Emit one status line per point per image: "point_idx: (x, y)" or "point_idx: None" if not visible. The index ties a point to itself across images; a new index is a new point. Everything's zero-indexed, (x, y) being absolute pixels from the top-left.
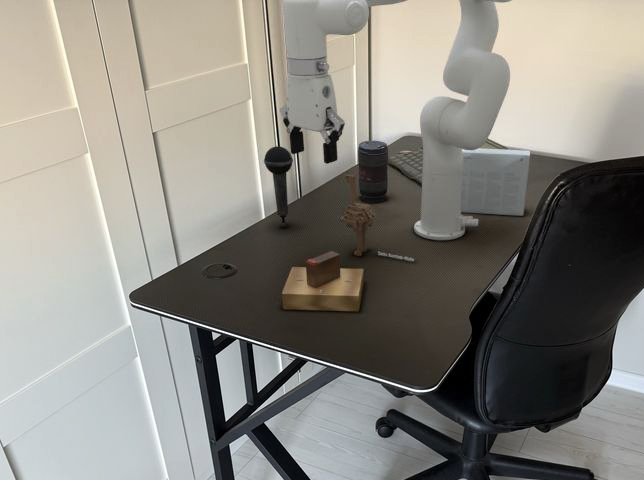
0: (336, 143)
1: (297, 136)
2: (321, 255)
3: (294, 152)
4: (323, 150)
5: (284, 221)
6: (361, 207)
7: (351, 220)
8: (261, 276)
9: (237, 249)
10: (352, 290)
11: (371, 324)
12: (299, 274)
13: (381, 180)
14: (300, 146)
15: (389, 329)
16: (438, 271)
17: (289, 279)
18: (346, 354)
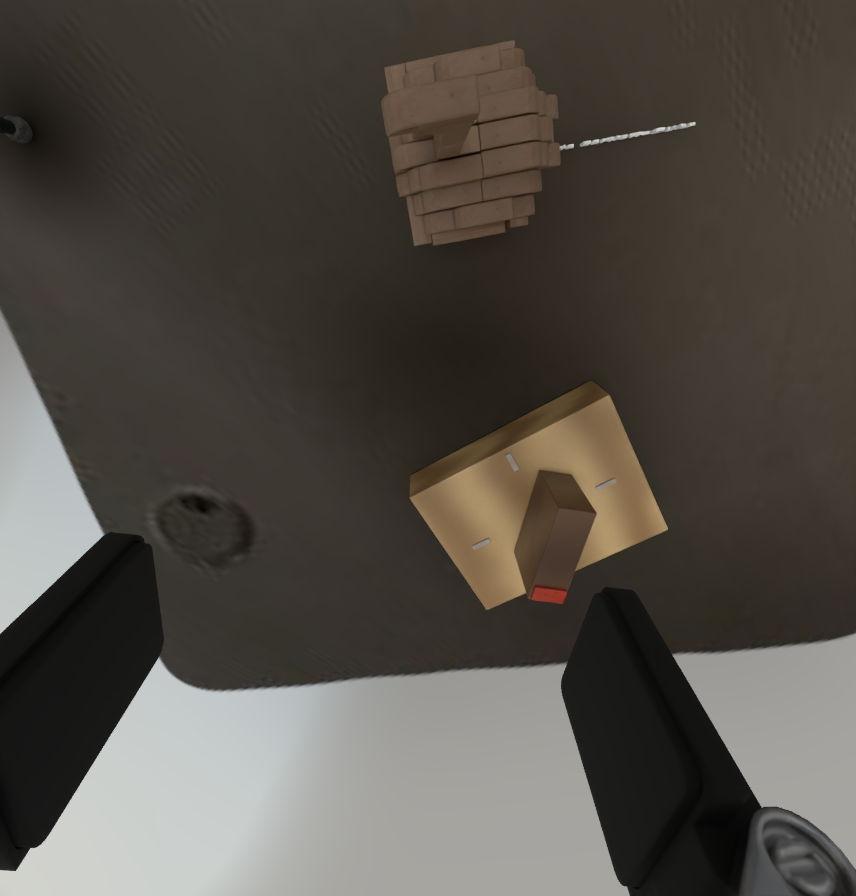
0: (721, 746)
1: (40, 763)
2: (548, 549)
3: (158, 650)
4: (597, 802)
5: (10, 126)
6: (513, 163)
7: (477, 235)
8: (316, 495)
9: (106, 405)
10: (640, 516)
11: (698, 532)
12: (459, 521)
13: None
14: (121, 616)
15: (745, 528)
16: (798, 145)
17: (455, 554)
18: (693, 632)
